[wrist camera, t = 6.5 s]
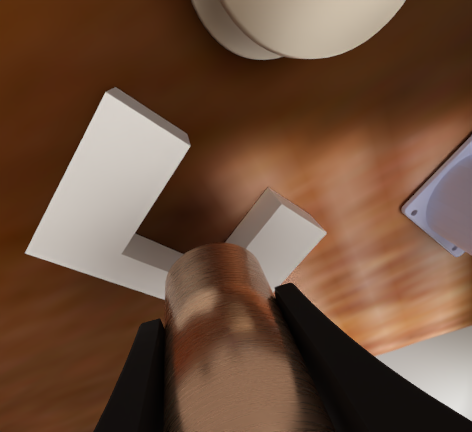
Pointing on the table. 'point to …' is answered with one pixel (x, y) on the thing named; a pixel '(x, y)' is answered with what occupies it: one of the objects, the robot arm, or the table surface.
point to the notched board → (148, 205)
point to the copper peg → (232, 350)
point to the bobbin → (293, 25)
